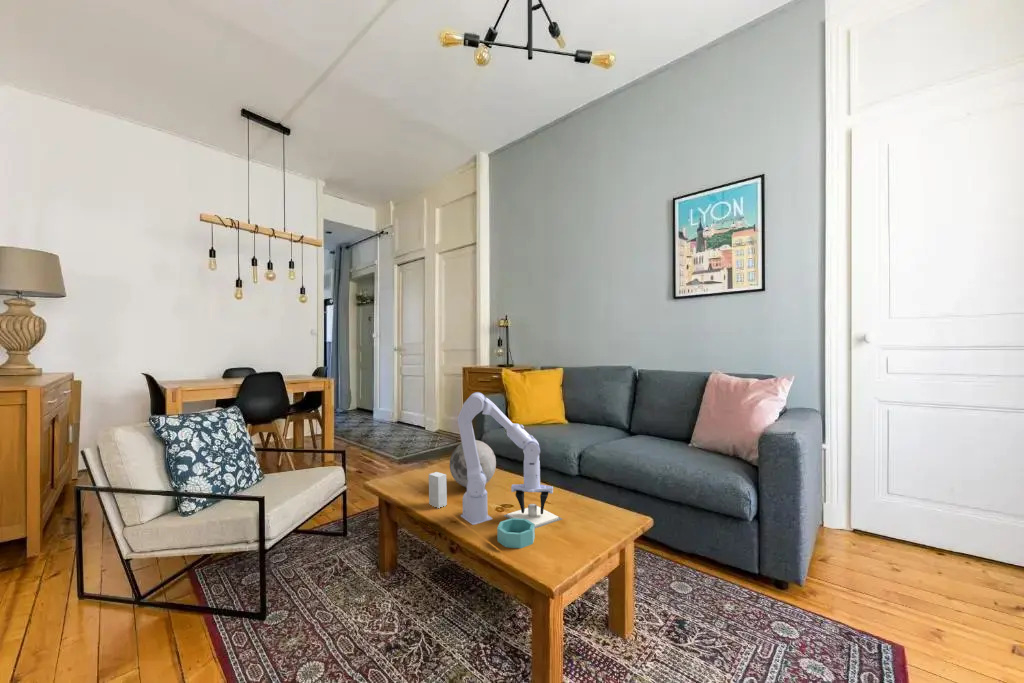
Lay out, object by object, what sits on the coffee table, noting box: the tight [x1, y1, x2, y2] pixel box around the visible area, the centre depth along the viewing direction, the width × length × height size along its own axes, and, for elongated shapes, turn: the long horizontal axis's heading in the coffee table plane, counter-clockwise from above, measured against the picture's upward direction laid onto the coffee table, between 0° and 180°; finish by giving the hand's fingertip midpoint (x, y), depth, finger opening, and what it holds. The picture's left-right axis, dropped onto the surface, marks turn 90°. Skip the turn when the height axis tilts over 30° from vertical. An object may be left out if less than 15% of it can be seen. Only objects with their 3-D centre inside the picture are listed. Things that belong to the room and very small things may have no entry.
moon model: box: [449, 439, 497, 488], centre depth 178 cm, size 20×20×20 cm
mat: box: [502, 513, 563, 529], centre depth 145 cm, size 15×15×1 cm
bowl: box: [496, 518, 536, 549], centre depth 129 cm, size 11×11×4 cm
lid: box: [506, 503, 560, 526], centre depth 145 cm, size 13×13×4 cm
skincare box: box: [428, 471, 448, 509], centre depth 158 cm, size 6×4×12 cm
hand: (532, 512), depth 145 cm, fingers open, 6 cm apart
